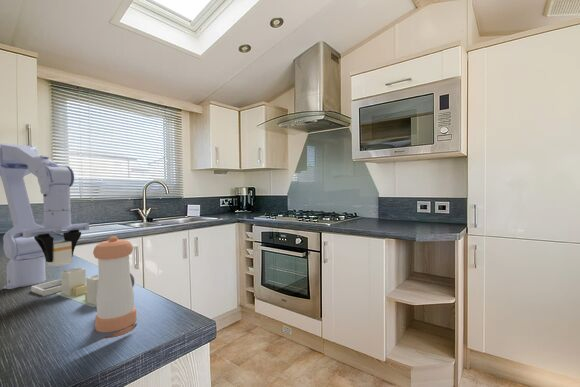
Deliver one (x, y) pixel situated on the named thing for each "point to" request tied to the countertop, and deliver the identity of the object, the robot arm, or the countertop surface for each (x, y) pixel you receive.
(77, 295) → the fuse block
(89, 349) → the countertop surface
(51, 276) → the countertop surface
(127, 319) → the salt shaker
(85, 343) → the countertop surface
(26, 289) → the countertop surface
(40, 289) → the tray
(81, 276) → the left fuse
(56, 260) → the block
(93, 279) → the block
